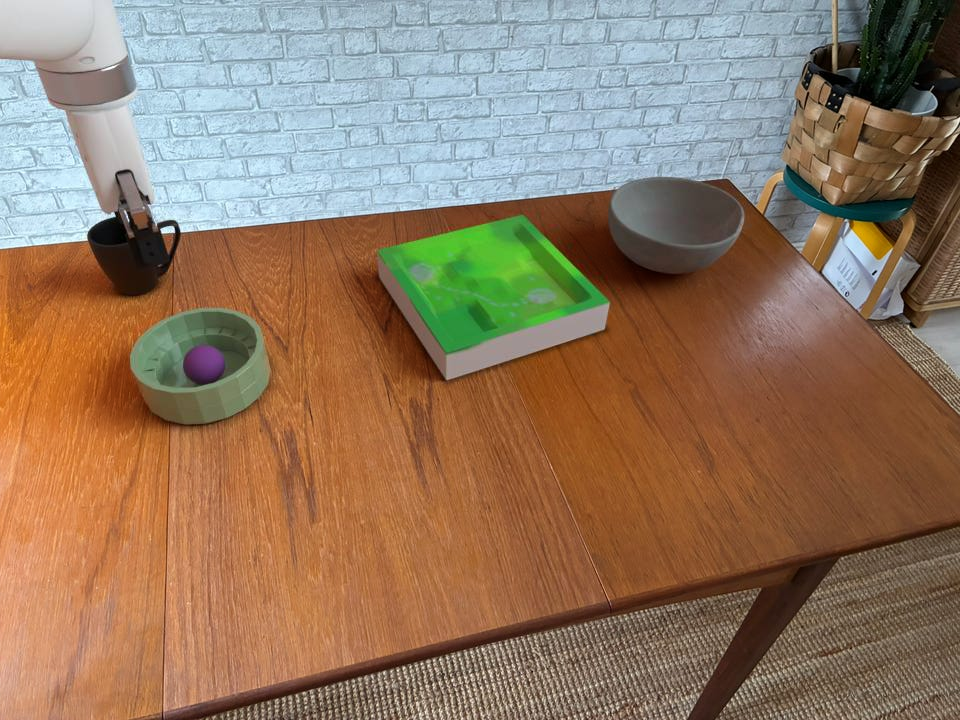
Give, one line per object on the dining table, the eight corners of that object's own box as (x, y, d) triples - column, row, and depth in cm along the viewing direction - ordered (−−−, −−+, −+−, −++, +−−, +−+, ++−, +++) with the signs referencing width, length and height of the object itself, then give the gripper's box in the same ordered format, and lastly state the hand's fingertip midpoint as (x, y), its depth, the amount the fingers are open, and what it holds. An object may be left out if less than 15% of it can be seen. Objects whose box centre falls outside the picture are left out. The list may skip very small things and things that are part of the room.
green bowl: (235, 438, 84) (224, 403, 80) (118, 412, 87) (102, 377, 82) (290, 353, 95) (283, 319, 91) (186, 333, 98) (175, 298, 94)
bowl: (609, 217, 124) (619, 165, 117) (728, 237, 120) (745, 185, 113) (591, 282, 109) (601, 227, 102) (726, 308, 106) (745, 252, 99)
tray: (520, 240, 117) (522, 214, 114) (604, 329, 101) (610, 302, 98) (379, 277, 109) (376, 250, 105) (446, 380, 92) (446, 352, 89)
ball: (216, 396, 88) (207, 367, 85) (180, 388, 89) (170, 359, 86) (235, 369, 92) (228, 341, 89) (200, 362, 93) (192, 333, 89)
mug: (199, 284, 106) (182, 230, 99) (114, 308, 101) (91, 252, 95) (186, 256, 111) (170, 203, 104) (104, 277, 106) (82, 223, 100)
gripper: (31, 54, 67) (91, 212, 78) (56, 123, 56) (122, 295, 68) (115, 43, 70) (161, 197, 82) (154, 106, 59) (201, 273, 71)
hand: (143, 241), depth 75 cm, fingers open, 9 cm apart
